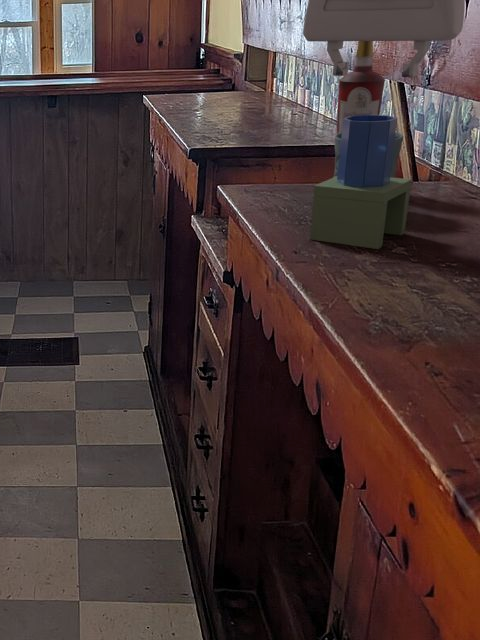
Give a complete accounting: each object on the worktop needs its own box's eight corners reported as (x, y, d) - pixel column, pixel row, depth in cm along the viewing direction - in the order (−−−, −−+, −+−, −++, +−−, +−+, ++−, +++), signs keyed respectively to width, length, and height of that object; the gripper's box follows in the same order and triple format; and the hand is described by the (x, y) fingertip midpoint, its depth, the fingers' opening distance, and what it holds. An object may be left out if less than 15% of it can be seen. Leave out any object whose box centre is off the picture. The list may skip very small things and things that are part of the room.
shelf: (404, 233, 127) (411, 179, 124) (378, 249, 121) (384, 192, 118) (338, 224, 134) (343, 173, 131) (309, 239, 127) (314, 185, 124)
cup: (395, 180, 124) (403, 116, 121) (377, 189, 120) (384, 122, 116) (349, 176, 129) (356, 114, 125) (330, 184, 124) (336, 120, 121)
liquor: (373, 185, 157) (392, 20, 146) (371, 194, 151) (390, 22, 140) (330, 183, 160) (346, 22, 149) (327, 192, 154) (342, 24, 143)
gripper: (299, -29, 118) (291, 77, 123) (460, -39, 105) (443, 80, 110) (319, -30, 122) (311, 72, 127) (476, -40, 109) (459, 75, 114)
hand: (373, 76), depth 119 cm, fingers open, 8 cm apart
